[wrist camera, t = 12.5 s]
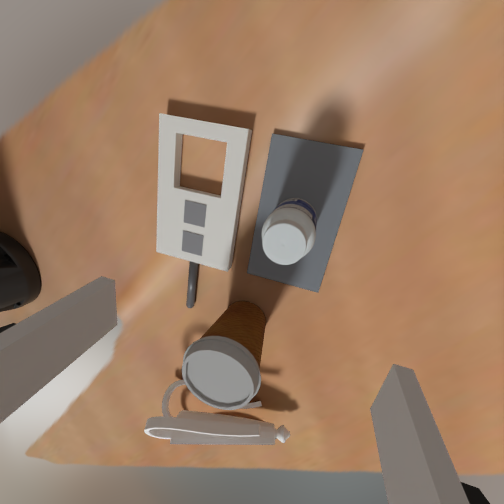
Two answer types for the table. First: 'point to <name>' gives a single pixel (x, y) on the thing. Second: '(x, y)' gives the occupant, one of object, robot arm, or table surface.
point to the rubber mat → (311, 190)
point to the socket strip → (199, 198)
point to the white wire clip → (212, 426)
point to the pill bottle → (289, 231)
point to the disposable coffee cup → (227, 358)
